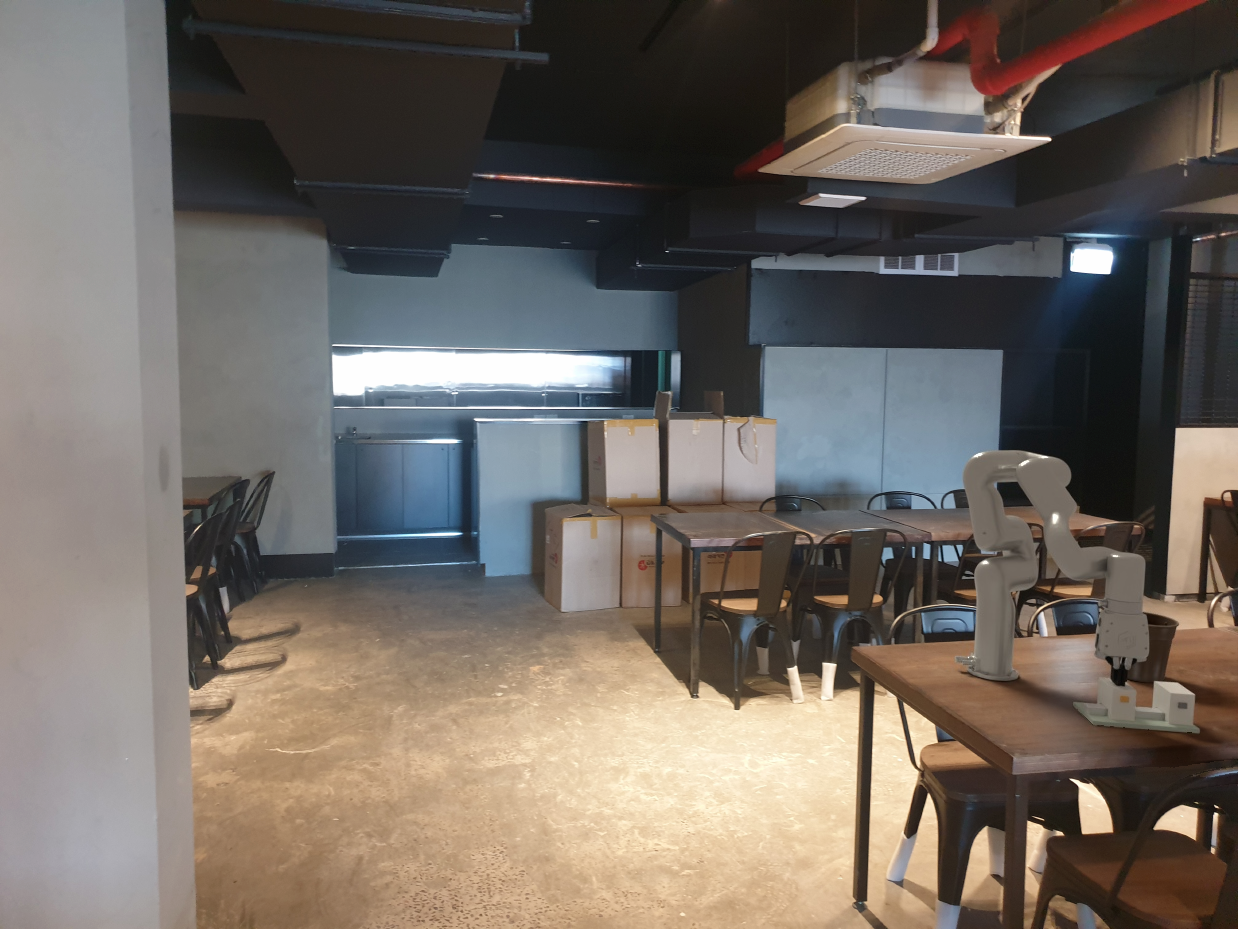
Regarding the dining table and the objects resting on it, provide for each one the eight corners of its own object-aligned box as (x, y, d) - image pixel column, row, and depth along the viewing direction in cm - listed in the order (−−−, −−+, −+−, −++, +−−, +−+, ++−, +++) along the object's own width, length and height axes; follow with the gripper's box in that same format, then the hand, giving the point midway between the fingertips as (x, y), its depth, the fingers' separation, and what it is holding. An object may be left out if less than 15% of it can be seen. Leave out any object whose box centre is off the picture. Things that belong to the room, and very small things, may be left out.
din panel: (1092, 725, 188) (1095, 690, 187) (1073, 706, 200) (1075, 673, 199) (1199, 733, 184) (1202, 698, 184) (1173, 713, 196) (1175, 680, 196)
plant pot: (1168, 671, 227) (1173, 614, 226) (1180, 690, 212) (1184, 628, 211) (1100, 662, 234) (1104, 606, 232) (1107, 680, 219) (1111, 620, 218)
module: (1111, 720, 189) (1113, 689, 188) (1096, 706, 197) (1098, 677, 197) (1135, 722, 188) (1137, 691, 187) (1119, 708, 196) (1121, 678, 196)
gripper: (1094, 608, 188) (1090, 687, 189) (1166, 612, 186) (1161, 692, 187) (1082, 601, 195) (1077, 677, 197) (1151, 604, 193) (1146, 681, 194)
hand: (1118, 684), depth 192 cm, fingers closed
